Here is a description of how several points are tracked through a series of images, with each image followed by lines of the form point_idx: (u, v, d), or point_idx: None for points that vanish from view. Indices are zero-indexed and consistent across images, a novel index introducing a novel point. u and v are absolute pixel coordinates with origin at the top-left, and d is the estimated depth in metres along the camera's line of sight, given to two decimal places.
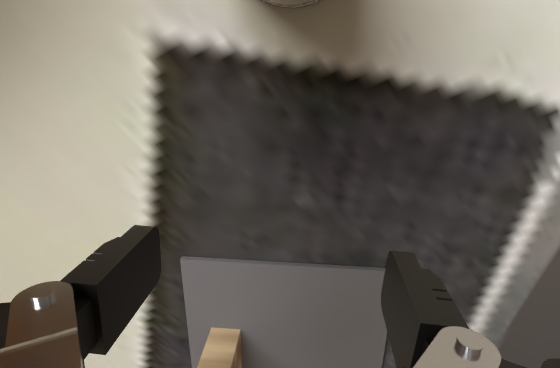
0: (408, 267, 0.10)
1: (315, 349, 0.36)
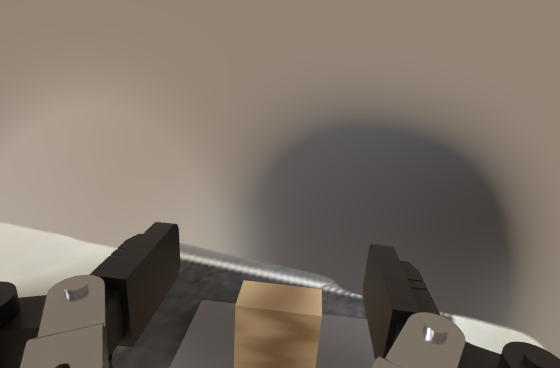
0: (386, 258, 0.11)
1: None
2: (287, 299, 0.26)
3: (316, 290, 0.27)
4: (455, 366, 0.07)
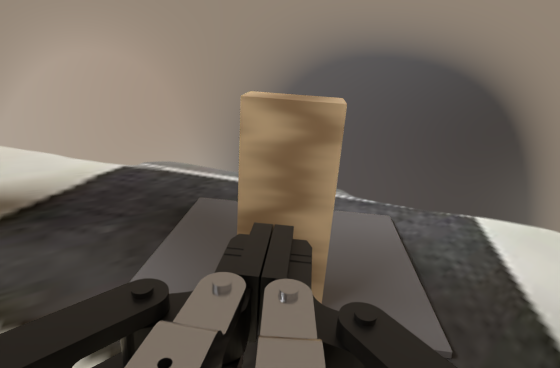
0: (280, 236, 0.12)
1: None
2: (303, 98, 0.21)
3: (337, 98, 0.23)
4: (289, 320, 0.08)
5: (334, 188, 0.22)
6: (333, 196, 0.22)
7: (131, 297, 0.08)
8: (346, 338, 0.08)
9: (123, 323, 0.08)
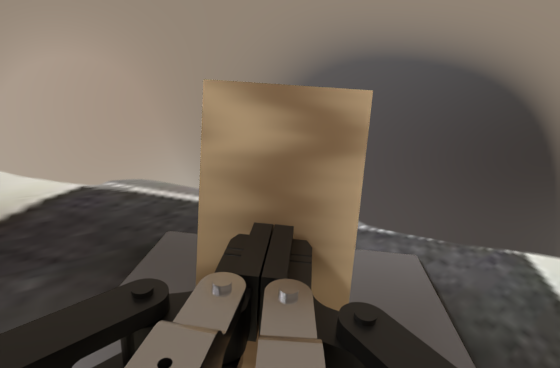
0: (281, 236, 0.12)
1: None
2: None
3: None
4: (289, 320, 0.08)
5: (354, 230, 0.13)
6: (352, 243, 0.13)
7: (131, 297, 0.08)
8: (346, 338, 0.08)
9: (124, 323, 0.08)
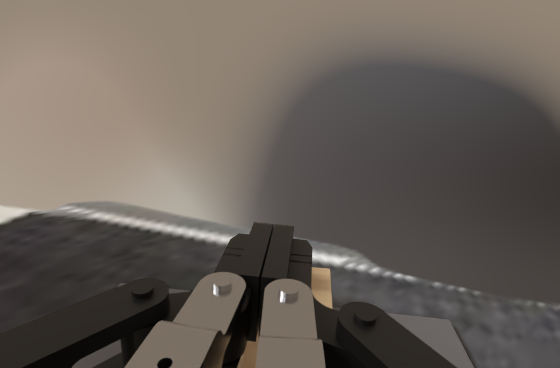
0: (281, 236, 0.12)
1: None
2: None
3: None
4: (289, 320, 0.08)
5: None
6: None
7: (131, 297, 0.08)
8: (346, 338, 0.08)
9: (124, 323, 0.08)
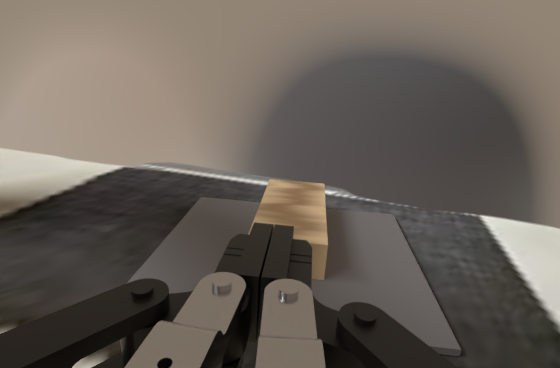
0: (280, 236, 0.12)
1: None
2: None
3: None
4: (289, 320, 0.08)
5: (324, 200, 0.35)
6: (324, 202, 0.34)
7: (131, 297, 0.08)
8: (346, 338, 0.08)
9: (123, 323, 0.08)
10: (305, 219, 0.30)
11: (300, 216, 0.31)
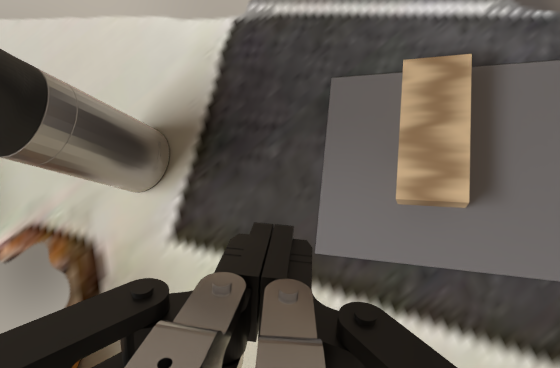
0: (280, 236, 0.12)
1: None
2: None
3: None
4: (289, 320, 0.08)
5: (469, 104, 0.32)
6: (469, 110, 0.32)
7: (131, 297, 0.08)
8: (346, 338, 0.08)
9: (123, 323, 0.08)
10: (447, 155, 0.32)
11: (442, 151, 0.32)
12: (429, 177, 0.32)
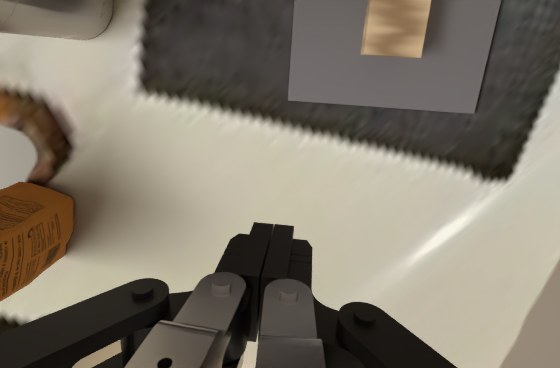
0: (281, 236, 0.12)
1: None
2: None
3: None
4: (289, 320, 0.08)
5: None
6: None
7: (131, 297, 0.08)
8: (346, 338, 0.08)
9: (123, 323, 0.08)
10: (411, 13, 0.37)
11: (407, 8, 0.36)
12: (393, 33, 0.37)
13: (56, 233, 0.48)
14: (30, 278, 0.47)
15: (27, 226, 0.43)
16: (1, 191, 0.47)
